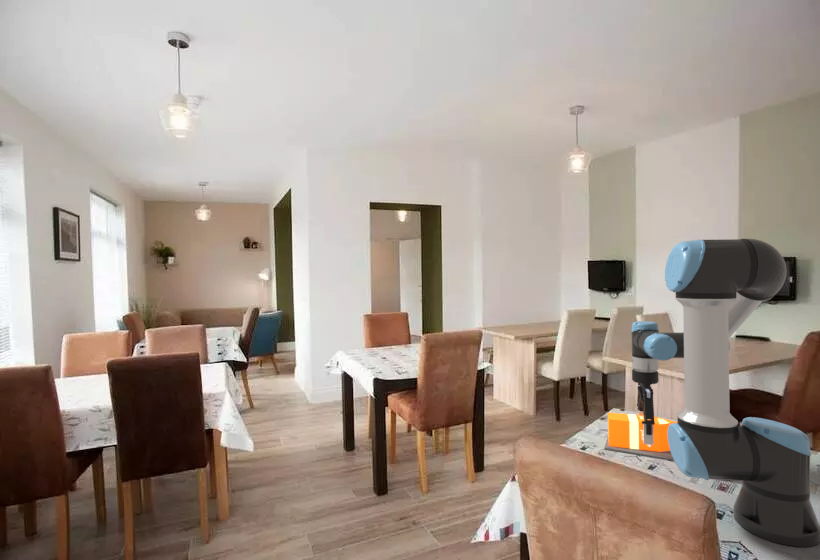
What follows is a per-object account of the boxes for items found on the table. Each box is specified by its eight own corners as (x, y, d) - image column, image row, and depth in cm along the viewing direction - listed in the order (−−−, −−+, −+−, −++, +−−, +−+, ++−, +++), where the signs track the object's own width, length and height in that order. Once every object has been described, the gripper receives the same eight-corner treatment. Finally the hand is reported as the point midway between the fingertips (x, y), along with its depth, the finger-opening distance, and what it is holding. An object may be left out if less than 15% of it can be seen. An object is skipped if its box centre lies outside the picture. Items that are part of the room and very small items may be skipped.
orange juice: (607, 412, 152) (675, 417, 144) (608, 437, 152) (675, 445, 144) (609, 419, 144) (680, 426, 137) (609, 446, 144) (680, 454, 137)
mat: (680, 462, 133) (680, 460, 133) (604, 449, 144) (604, 447, 144) (679, 445, 145) (679, 443, 145) (609, 434, 156) (609, 433, 156)
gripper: (627, 361, 156) (628, 424, 156) (637, 377, 134) (637, 450, 134) (652, 362, 153) (652, 426, 154) (665, 379, 131) (665, 453, 132)
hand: (645, 437), depth 144 cm, fingers open, 11 cm apart
